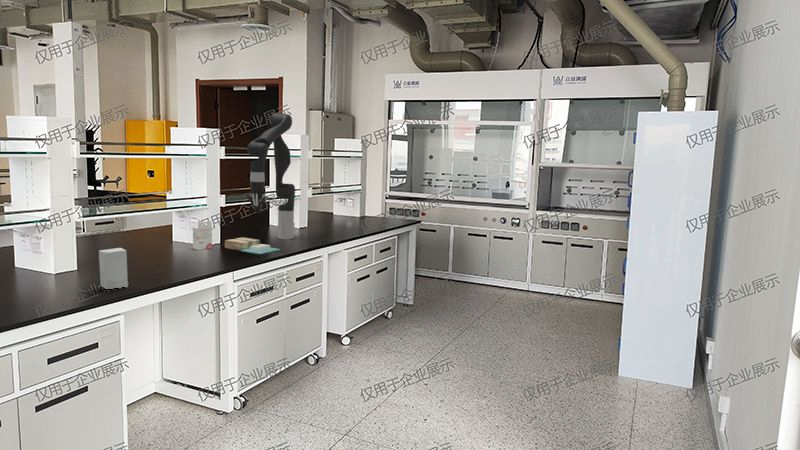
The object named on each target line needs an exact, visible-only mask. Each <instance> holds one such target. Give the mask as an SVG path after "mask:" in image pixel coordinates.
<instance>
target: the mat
mask: <svg viewBox="0 0 800 450" xmlns="http://www.w3.org/2000/svg"><path fill="white" fill-rule="evenodd" d="M240 251H241V252H245V253H249V254H256V255H263V254H268V253H273V252H276V251H281V248H276V247H271V246H270V249H267V250H263V251H254V250H250V248H249V249H244V250H240Z"/></svg>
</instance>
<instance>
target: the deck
mask: <svg viewBox="0 0 800 450" xmlns="http://www.w3.org/2000/svg"><path fill="white" fill-rule="evenodd" d="M258 244H261V240H260V239H257V238H250V237H244V236H243V237H237V238H233V239H226V240H224V248H225V249H229V250H235V249H236V250H235V251H241V250H244V249H249V248H250V246H253V245H258Z"/></svg>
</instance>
